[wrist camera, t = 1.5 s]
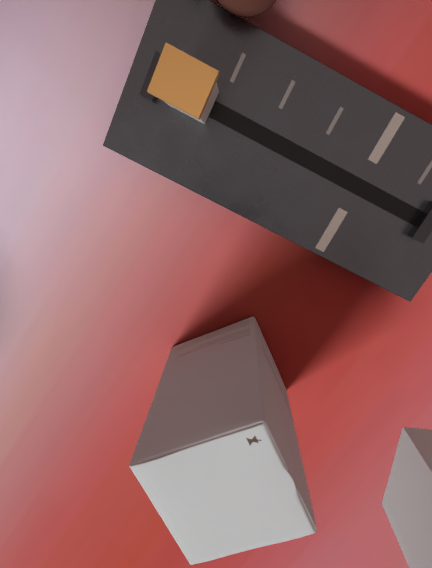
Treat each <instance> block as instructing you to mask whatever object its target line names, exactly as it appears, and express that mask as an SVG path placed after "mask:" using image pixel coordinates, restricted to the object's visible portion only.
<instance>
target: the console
mask: <svg viewBox="0 0 432 568" xmlns="http://www.w3.org/2000/svg"><path fill="white" fill-rule="evenodd" d="M165 43H168V44H170V45H172V46H174V47H176V48H177V49H179V50H181V51H183V52H185V53H187V54H188V55H190V56H192V57H194V58H196V59H198V60H199V61H201V62H203V63H205V64H207V65H209V66H211V67H212V68H214V69H216V70H218V71H219V74H220V75H219V77H218V79H217V86H218V90H219V93H218V96H217V98H216V100H215V102H214V105H213V107H212V109H211V111H210V114H209V116H208V118H207V120H206V123H205V124H203V123H201V122H199V121H197V120H196V119H194V118H192V117H190V116H188V115H186V114H184V113H182V112H180V111H179V110H177V109H175V108H173V107H171V106H169V105H168V104H167V103H165V102H164V101H162V100H161V99H159V98H157V97H155V96H153V95H151V94H149V93H148V92H147V90H148V87H149V84H150V82H151V79H152V77H153V74H154V71H155V69H156V66H157V64H158V61H159V58H160V56H161V53H162V51H163V48H164V45H165ZM103 146H105V147H107V148H109V149H111V150H113V151H115V152H117V153H119V154H121V155H123V156H125V157H127V158H129V159H131V160H133V161H135V162H137V163H139V164H141V165H142V166H144V167H146V168H148V169H150V170H152V171H154V172H156V173H158V174H160V175H162V176H164V177H166V178H168V179H170V180H172V181H174V182H176V183H178V184H180V185H182V186H184V187H186V188H188V189H190V190H192V191H194V192H196V193H198V194H200V195H201V196H203V197H205V198H207V199H209V200H211V201H213V202H215V203H217V204H219V205H221V206H223V207H225V208H227V209H229V210H231V211H233V212H235V213H237V214H239V215H241V216H243V217H245V218H247V219H249V220H251V221H253V222H255V223H257V224H259V225H260V226H262V227H264V228H266V229H268V230H270V231H272V232H274V233H276V234H278V235H280V236H282V237H284V238H286V239H288V240H290V241H292V242H294V243H296V244H298V245H300V246H302V247H304V248H306V249H308V250H310V251H312V252H314V253H316V254H318V255H319V256H321V257H323V258H325V259H327V260H329V261H331V262H333V263H335V264H337V265H339V266H341V267H343V268H345V269H347V270H349V271H351V272H353V273H355V274H357V275H359V276H361V277H363V278H365V279H367V280H369V281H371V282H373V283H375V284H377V285H378V286H380V287H382V288H384V289H386V290H388V291H390V292H392V293H394V294H396V295H398V296H400V297H402V298H404V299H406V300H408V301H411V300H412V298H413V297H414V296H415V294H416V293H417V292H418V290H419V289H420V287H421V286H422V285H423V283H424V282H425V280H426V279H427V278H428V276H429V275H430V273H431V272H432V125H431V124H429V123H427V122H425V121H424V120H422V119H420V118H418V117H416V116H415V115H413V114H411V113H409V112H407V111H406V110H404V109H402V108H400V107H399V106H397V105H395V104H393V103H391V102H390V101H388V100H386V99H384V98H382V97H381V96H379V95H377V94H375V93H374V92H372V91H370V90H368V89H366V88H365V87H363V86H361V85H359V84H357V83H356V82H354V81H352V80H350V79H349V78H347V77H345V76H343V75H341V74H340V73H338V72H336V71H334V70H332V69H331V68H329V67H327V66H325V65H324V64H322V63H320V62H318V61H316V60H315V59H313V58H311V57H309V56H307V55H306V54H304V53H302V52H300V51H298V50H297V49H295V48H293V47H291V46H290V45H288V44H286V43H284V42H282V41H281V40H279V39H277V38H275V37H273V36H272V35H270V34H268V33H266V32H265V31H263V30H261V29H259V28H257V27H256V26H254V25H252V24H250V23H248V22H247V21H245V20H243V19H241V18H240V17H238V16H236V15H234V14H232V13H230V12H229V11H227V10H225V9H223V8H222V7H220V6H218V5H216V4H215V3H213V2H211V1H209V0H156V1H155V4H154V7H153V9H152V12H151V15H150V18H149V20H148V23H147V26H146V29H145V31H144V34H143V37H142V40H141V42H140V45H139V48H138V51H137V53H136V56H135V59H134V62H133V64H132V67H131V70H130V73H129V75H128V78H127V81H126V84H125V86H124V89H123V92H122V94H121V97H120V100H119V103H118V105H117V108H116V111H115V114H114V116H113V119H112V122H111V125H110V127H109V130H108V133H107V136H106V138H105V141H104V144H103Z"/></svg>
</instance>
